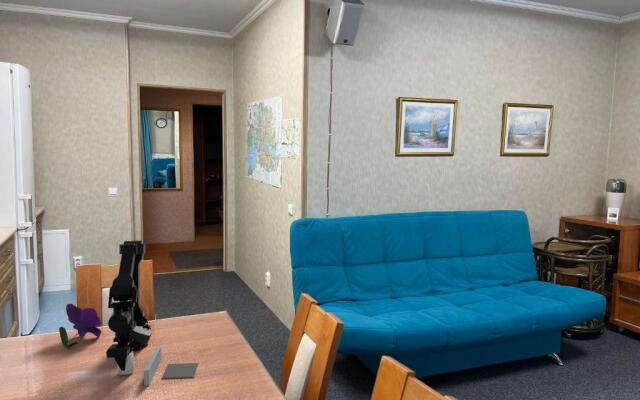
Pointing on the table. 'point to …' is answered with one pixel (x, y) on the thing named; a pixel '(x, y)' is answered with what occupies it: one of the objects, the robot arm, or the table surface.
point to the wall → (152, 366)
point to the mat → (180, 370)
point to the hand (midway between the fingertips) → (125, 366)
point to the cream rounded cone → (127, 365)
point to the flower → (80, 323)
